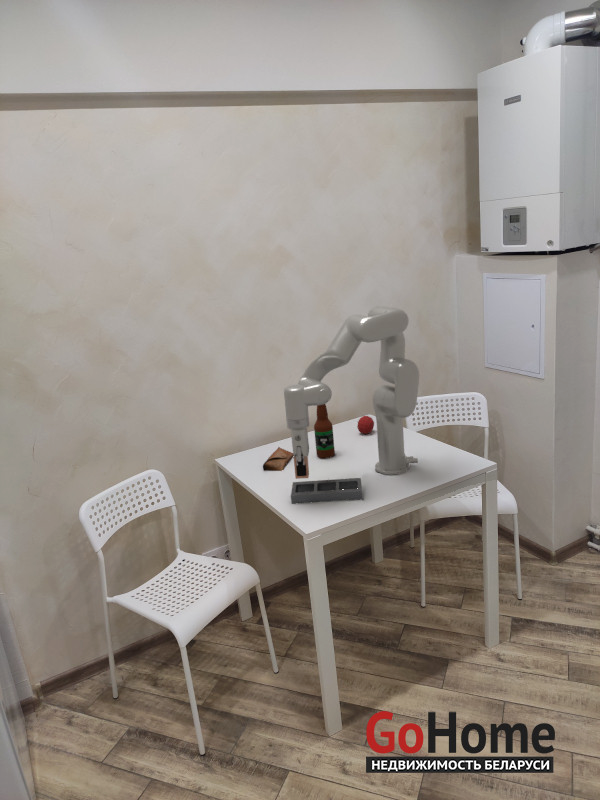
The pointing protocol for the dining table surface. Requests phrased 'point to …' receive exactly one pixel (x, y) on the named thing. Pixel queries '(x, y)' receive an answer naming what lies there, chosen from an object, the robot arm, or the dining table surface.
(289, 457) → the sunglasses case
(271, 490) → the dining table surface
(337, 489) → the rack
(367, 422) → the red textured ball
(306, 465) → the peg
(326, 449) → the bottle
